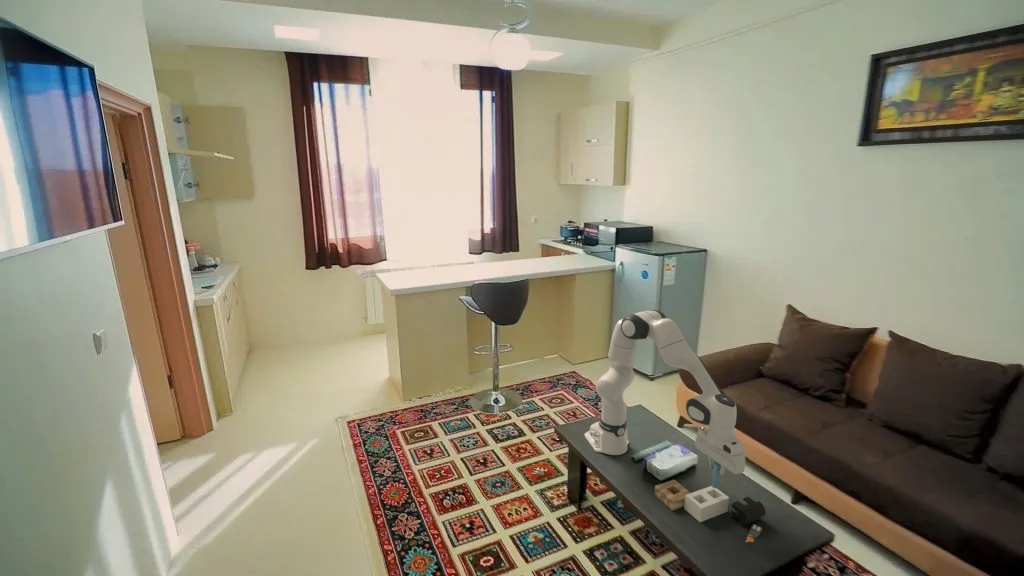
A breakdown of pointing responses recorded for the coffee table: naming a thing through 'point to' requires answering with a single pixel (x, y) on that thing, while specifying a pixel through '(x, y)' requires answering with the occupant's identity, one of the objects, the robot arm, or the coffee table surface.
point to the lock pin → (715, 475)
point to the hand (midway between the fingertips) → (716, 470)
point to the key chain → (754, 532)
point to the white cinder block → (706, 503)
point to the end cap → (747, 511)
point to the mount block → (671, 494)
